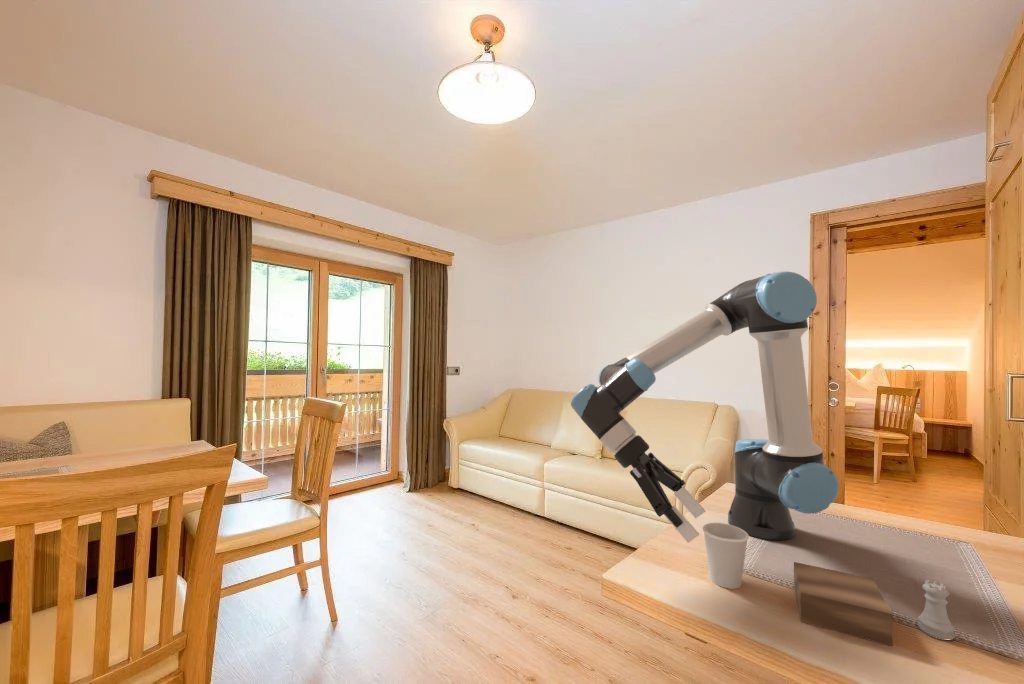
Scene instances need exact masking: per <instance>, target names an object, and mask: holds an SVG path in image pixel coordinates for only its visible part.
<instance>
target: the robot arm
mask: <svg viewBox="0 0 1024 684" xmlns="http://www.w3.org/2000/svg"><path fill="white" fill-rule="evenodd" d="M817 298H818V296H817V292H816V289H815V288H814V285H812V283H811V282H810V280H809V279H807V278H805V277H804V276H802V275H801V274H799V273H796V272H793V271H779V272H773V273H767V274H766V275H762V276H759V277H755V278H753V279H750V280H746V281H743V282H741V283H739V284H737V285H735V286H734V287H732V288H731V289H729V290H727V291H726V292H725V293H723V294H722V295H720V296H719V297H718V298H716V299H715V300H713V301H711V302H710V303H708V304H706V305H705V307H704V310H703V311H702V312H700V313H698V314H697V315H694V316H693V317H691V318H690V319H688V320H687V321H685V322H682V323H681V324H680V325H678V326H676V327H674V328H673V329H671V330H669V331H667V332H666V333H664V334H663V335H660V336H658V337H657V338H656V339H654V340H652V341H650V342H649V343H647V344H645V345H644V346H642V347H639V348H638V349H637V350H635V351H633V352H632V353H629V354H628V355H627V356H625V357H623V358H622V359H620V360H617V361H616V362H615V363H611V364H608V365H605V366H603V368H601V370H600V371H599V373H598V378H597V379H598V382H599V383H598V384H599V386H596V385H595V384H593V383H588V384H587V385H585V386H584V387H582V388H581V389H580V390H579V391H578V392H576V393H575V394H574V395H573V396H572V398H571V400H570V406H571V408H572V409H573V411H575V412H576V414H577V416H578V417H579V418H580V419H581V420H582V421H583V423H584V424H585V425H586V426H587V427H588V428H589V429H590V431H591V432H592V433H593V434H594V435H595V436H596V437H597V439H598V440H599V441H600V442H601V444H602V447H603V448H606V449H607V450H608V452H609V453H610V454H611V453H612V454H614V458H615V460H616V461H617V462H618V463H619V464H620V465H621V467H622V468H624V469H627V468H628V467H629V466H631V467H632V469H631V470H630V471H629V475H631V476H632V478H633V479H634V480H635V481H636V483H637V484H638V487H640V490H641V491H642V493H643V494H644V496H645V498H646V499H647V501H648V502H649V504H650V506H651V507H652V508H653V511H654V512H655V513H656V515H657V516H658V517H662V516H664V517H665V519H667V520H668V522H669V523H670V524H671V525H672V526H673V528H675V530H677V532H678V534H680V535H681V537H682V538H683V539H684V540H685V541H686V542H687V544H689V543H691V542H692V541H693V540H694V539H696V538H697V537H699V535H700V533H699V532H698V531H697V529H696V528H695V527H694V526H693V525H692V524H691V523H690V521H689V520H688V519H687V518H686V517H685V515H684V514H682V512H681V511H680V510H679V509H678V508H677V507H676V506H675V505H673V506H672V503H671V501H670V500H669V498H668V496H667V494H666V493H665V491H664V489H663V487H662V486H661V484H662V485H664V486H665V487H667V488H668V489H669V490H670V491H672V492H674V493H673V495H674V496H675V497H676V499H677V500H679V502H680V503H681V504H682V505H683V506H684V507H685V509H686V510H687V511H688V512H689V513H690V514H691V515H692V516H693V518H695V519H697V518H699V517H700V516H701V515H703V514H704V513H706V509H704V507H703V506H702V505H701V504H700V503H699V502H698V501H697V499H695V497H694V496H693V495H692V494H691V493H690V492H689V490H688V489H687V488H686V487H684V485H685V484H686V482H685V480H684V479H682V478H680V477H679V476H678V475H677V474H676V473H675V472H673V471H672V469H670V468H669V467H668V466H666V464H664V463H663V462H661V460H660V459H658V458H657V457H656V456H655V455H654V453H652V452H648V454H647V453H646V452H647V451H648V450H650V445H649V444H648V443H647V442H646V440H645V439H644V438H643V437H642V436H641V435H638V434H636V433H637V431H636V429H635V428H634V427H633V426H632V424H630V423H629V421H627V420H626V418H625V417H623V415H622V414H621V412H623V410H625V409H626V408H627V407H628V406H629V405H631V404H632V403H633V402H634V401H636V400H637V399H638V398H639V397H640V396H642V394H644V393H645V392H647V391H649V388H650V387H652V386H653V384H655V383H656V381H657V379H656V375H655V374H656V373H658V372H660V371H662V370H663V369H665V368H667V367H668V366H670V365H671V364H673V363H675V362H677V361H679V360H680V359H682V358H684V357H686V356H687V355H689V354H691V353H692V352H695V350H698V349H699V348H701V347H703V346H704V345H707V344H708V343H710V342H711V341H712V340H715V339H717V338H719V337H720V336H726V337H727V336H730V335H731V334H733V333H735V332H736V331H739V330H743V329H746V328H748V333H749V336H751V337H752V338H753V339H755V340H756V341H757V346H758V347H757V348H758V355H759V356H758V358H759V364H760V373H761V374H760V375H761V383H762V391H763V392H762V393H763V400H764V409H765V417H766V418H765V419H766V426H767V434H768V435H767V436H768V439H761V438H759V439H758V438H754V439H753V438H744V439H738V440H737V441H736V443H735V449H734V467H735V468H734V470H735V473H734V476H735V477H734V478H735V479H734V481H735V484H734V486H735V488H734V489H735V491H734V492H735V493H734V497H733V500H732V502H731V505H730V507H729V510H728V511H727V512H728V513H727V524H729V525H733V526H736V527H738V528H741V529H742V530H744V531H745V532H746V533H747V534H748V535H749V536H751V537H755V538H760V539H762V540H763V539H765V540H773V541H777V540H778V541H784V540H785V541H786V540H790V539H792V538H794V537H795V535H796V525H795V523H794V521H793V517H792V515H791V511H790V509H791V510H794V511H796V512H799V513H802V514H808V515H809V514H810V515H811V514H812V515H813V514H817V513H820V512H822V511H826V510H827V509H828V508H829V507H830V505H831V504H833V503H834V502H835V501H836V498H837V497H838V494H839V489H840V485H839V480H838V477H837V474H835V472H834V470H833V471H832V470H831V468H830V467H828V466H827V465H825V463H824V455H823V454H824V453H823V449H822V447H820V446H819V445H817V444H816V443H815V442H814V439H813V438H814V437H813V431H812V430H813V429H812V421H811V413H810V406H809V396H808V387H807V386H808V385H807V378H806V369H805V368H806V367H805V360H804V353H803V352H804V351H803V344H802V336H803V335H804V334H805V333H806V332H807V331H808V330H809V326H808V318H809V317H810V316H811V315H812V314H813V312H814V311H815V310H816V307H817V304H818V299H817Z"/></svg>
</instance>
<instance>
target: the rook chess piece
mask: <svg viewBox="0 0 1024 684" xmlns="http://www.w3.org/2000/svg"><path fill="white" fill-rule="evenodd" d="M938 583H939V582H938V581H937V580H933V583H932V580H931V579H930V580H929V579H926V580H924V583H923V584H922V585H921V587H922V589H923V590H924V591H925V594H923V596H924V598H925V604H924V609H923V611H922V612H921V614H919V615H918V619H917V620H918V622H917V626H918V627H919V629H920V628H921V629H920V630H921V631H922V632H923V631H924V633H925V634H926V633H927V634H926V635H928V634H929V635H928V636H930V635H931V636H930V637H932V636H934V637H937V638H940V639H939V640H941V639H952V640H954V639H955V638H956V634H955V626H953V624H952V622H951V620H950V619H949V616H948V612H947V611H948V610H947V605H948V604H949V602H948V601H947V600H946V599H947V597H949V596H950V592H949V590H948V589H947V586H946V585H945V584H944V583H940V584H938ZM934 637H933V638H934ZM937 638H936V639H937Z"/></svg>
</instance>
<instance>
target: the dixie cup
mask: <svg viewBox="0 0 1024 684" xmlns="http://www.w3.org/2000/svg"><path fill="white" fill-rule="evenodd" d="M702 532H703V533H704V534H703V535H704V541H705V551H706V558H707V565H708V566H707V567H708V572H709V574H708V575H709V579H710V581H711V582H712V583H713V584H715V585H716V586H719V587H722V588H726V589H733V590H735V589H738V588H740V587H741V585H742V581H743V573H744V567H745V559H746V552H747V544H748V540H749V538H750V535H748V534H747V533H746V532H745V531H744V530H742V529H741V528H738V527H736V526H733V525H729V523H722V522H709V523H706V524H704V525H703V527H702Z"/></svg>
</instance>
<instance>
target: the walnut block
mask: <svg viewBox="0 0 1024 684" xmlns="http://www.w3.org/2000/svg"><path fill="white" fill-rule="evenodd" d="M793 590H794V594H795V600H796V604H797V605H796V606H797V609H798V614H799V618H800V622H801V623H805V624H808V625H812V626H816V627H819V628H822V629H826V630H830V631H835V632H838V633H841V634H846V635H848V636H853V637H857V638H861V639H864V640H869V641H871V642H875V643H880V644H882V645H887V646H891V647H893V645H894V644H893V642H894V641H893V639H894V638H893V636H894V634H893V626H894V625H893V623H894V622H893V621H894V620H893V613H892V611H891V609H890V607H889V606H888V604H887V601H886V600H885V598H884V596H883V594H882V593H881V591H880V589H879V588H878V585H876V583H875V581H874V578H872V577H867V576H863V575H858V574H852V573H849V572H843V571H839V570H833V569H830V568H829V569H828V568H825V567H821V566H820V567H819V566H815V565H810V564H806V563H800V562H796V561H793Z"/></svg>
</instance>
